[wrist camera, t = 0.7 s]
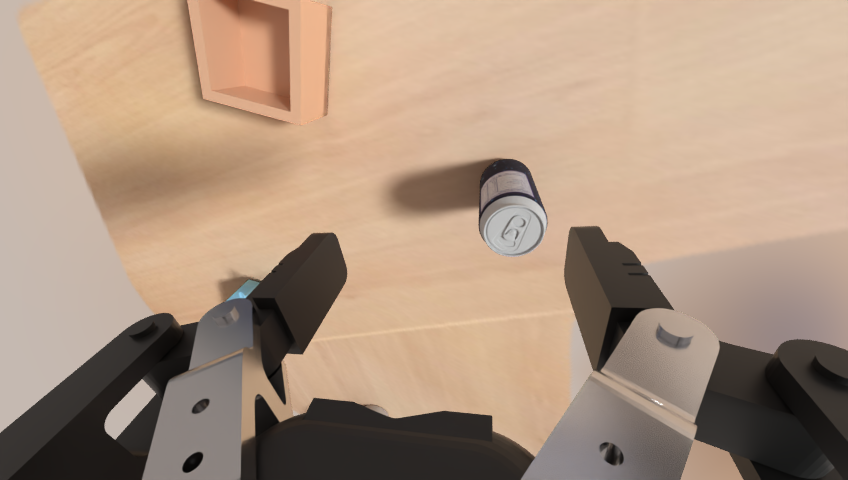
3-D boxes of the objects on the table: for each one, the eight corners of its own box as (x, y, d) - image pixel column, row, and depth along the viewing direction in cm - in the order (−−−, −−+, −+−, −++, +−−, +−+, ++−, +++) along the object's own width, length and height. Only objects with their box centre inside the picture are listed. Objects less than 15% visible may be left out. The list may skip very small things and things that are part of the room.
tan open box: (233, -19, 30) (181, -34, 25) (331, 7, 30) (300, -3, 25) (243, 92, 35) (203, 98, 30) (327, 114, 35) (300, 125, 30)
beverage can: (472, 192, 37) (467, 245, 27) (493, 148, 34) (498, 189, 24) (515, 210, 37) (527, 270, 27) (540, 168, 34) (564, 217, 24)
